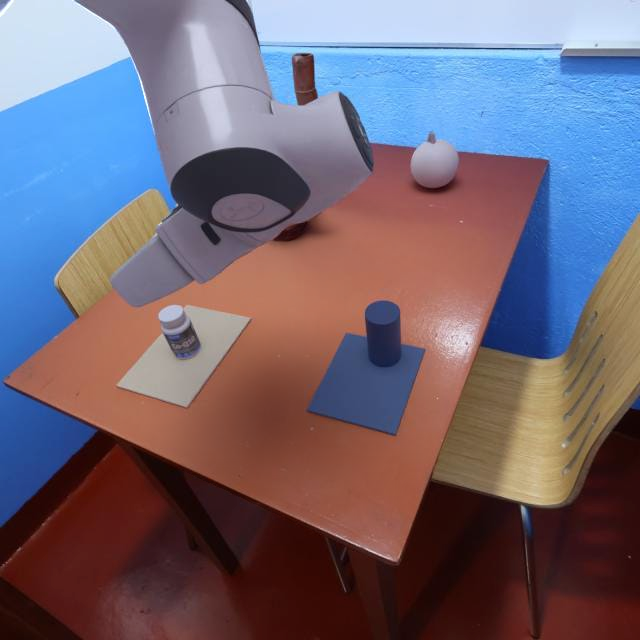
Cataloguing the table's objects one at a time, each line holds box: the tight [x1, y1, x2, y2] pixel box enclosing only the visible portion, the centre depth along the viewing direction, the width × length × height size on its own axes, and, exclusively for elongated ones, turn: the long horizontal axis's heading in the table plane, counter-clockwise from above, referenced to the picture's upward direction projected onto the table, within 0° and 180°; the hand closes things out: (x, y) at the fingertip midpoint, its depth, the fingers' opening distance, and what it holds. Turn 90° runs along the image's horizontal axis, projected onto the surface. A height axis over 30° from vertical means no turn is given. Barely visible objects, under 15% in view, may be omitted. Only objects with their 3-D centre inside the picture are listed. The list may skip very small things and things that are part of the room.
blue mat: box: [306, 332, 426, 437], centre depth 69 cm, size 16×13×1 cm
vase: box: [291, 52, 319, 106], centre depth 104 cm, size 11×7×30 cm
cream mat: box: [115, 304, 252, 409], centre depth 79 cm, size 20×14×1 cm
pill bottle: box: [157, 304, 201, 359], centre depth 76 cm, size 5×5×8 cm
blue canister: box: [364, 299, 402, 367], centre depth 69 cm, size 5×5×9 cm
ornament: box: [410, 132, 460, 189], centre depth 105 cm, size 10×10×12 cm
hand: (143, 265), depth 54 cm, fingers open, 8 cm apart
